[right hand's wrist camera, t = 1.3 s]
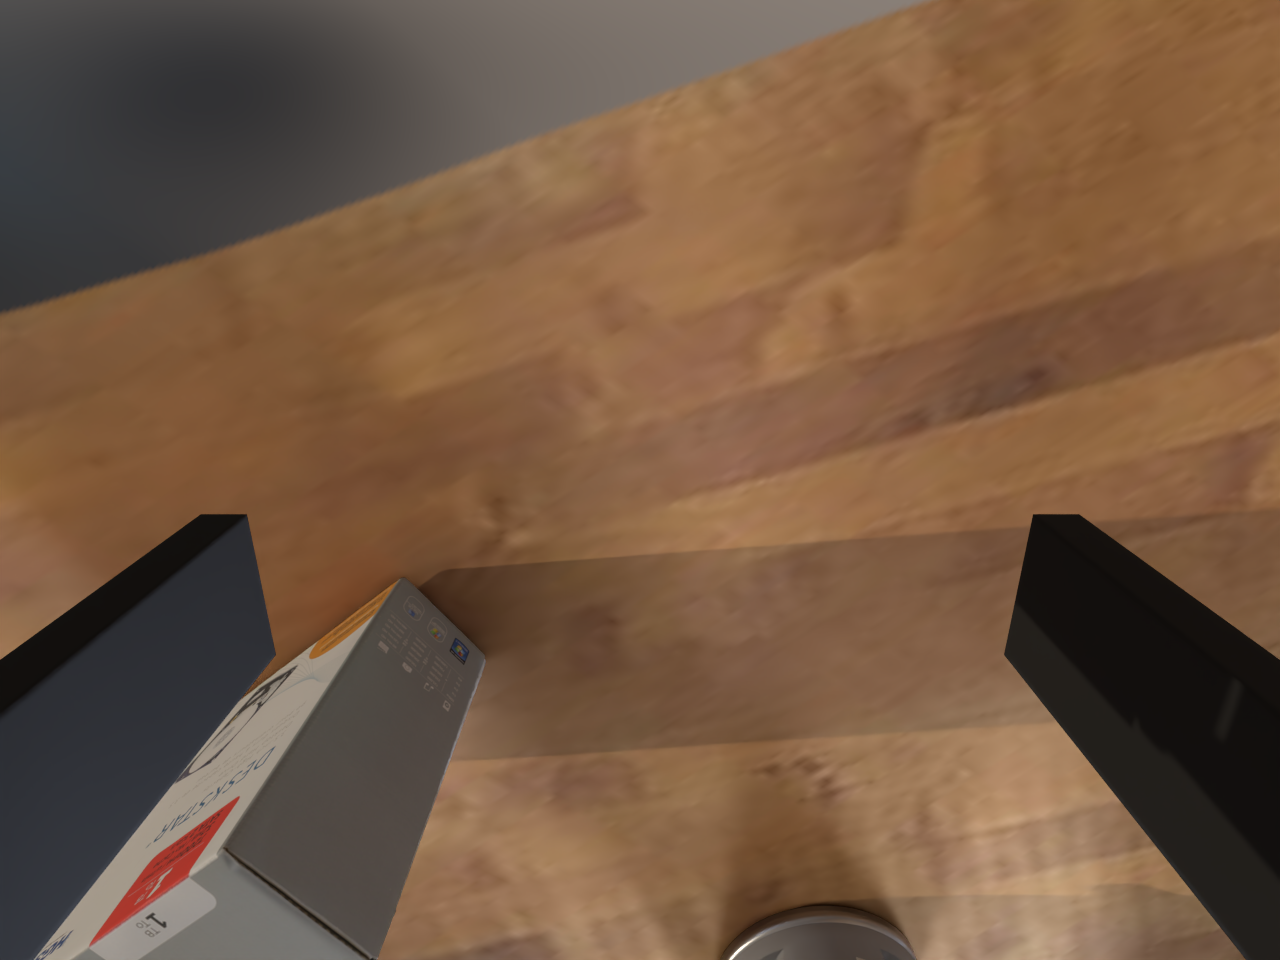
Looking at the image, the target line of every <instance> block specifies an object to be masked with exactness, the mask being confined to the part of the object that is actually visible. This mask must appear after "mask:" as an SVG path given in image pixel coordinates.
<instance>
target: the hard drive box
mask: <svg viewBox="0 0 1280 960" xmlns="http://www.w3.org/2000/svg"><path fill="white" fill-rule="evenodd" d="M485 663H486V660H485V655H484V654H483V653H482V652H481V651H480V650H479V649H478V648H477V647H476V646H475V645H474V644H473V643H472V642H471V641H470V640H469V639H468V638H467V637H466V636H465V635H464V634H463V633H462V632H461V631H460V630H459V629H458V628H457V627H456V626H455V625H454V624H453V623H452V622H451V621H450V620H449V619H448V618H447V617H446V616H445V615H444V614H442V613H441V612H440V611H439V610H438V609H437V608H436V607H435V606H434V605H433V604H432V603H431V602H430V601H429V600H428V599H427V598H426V597H425V596H424V595H423V594H422V593H421V592H420V591H419V590H418V589H417V588H416V587H415V586H414V585H413V584H412V583H411V582H410V581H408V580H407V579H406V578H400V579H399V580H397V581H396V582H395V583H393V584H392V585H391V586H389V587H388V588H387V589H385V590H384V591H383V592H381V593H380V594H379V595H377V596H376V597H375V598H374V599H372V600H371V601H369V602H368V603H366V604H365V605H364V606H363V607H361V608H360V609H359V610H357V611H356V612H355V613H354V614H352V615H351V616H350V617H348V618H347V619H346V620H345V621H343V622H342V623H341V624H340V625H338V626H337V627H336V628H334V629H333V630H331V631H330V632H329V633H328V634H326V635H325V636H324V637H322V638H321V639H320V640H319V641H317V642H316V643H315V644H313V645H312V646H311V647H309V648H308V649H306V650H305V651H304V652H303V653H301V654H300V655H299V656H297V657H296V658H295V659H293V660H292V661H291V662H289V663H288V664H287V665H286V666H284V667H283V668H281V669H279V670H278V671H277V672H276V673H275V674H274V675H272V676H271V677H270V678H268V679H267V680H266V681H264V682H263V683H262V684H260V685H259V686H258V687H257V688H255V689H254V690H253V691H252V692H250V693H249V694H248V695H246V696H245V697H244V698H243V699H241V700H240V701H239V702H238V703H237V704H236V706H235V707H234V708H233V709H232V711H231V712H230V713H229V714H228V716H227V717H226V718H225V719H224V721H223V722H222V723H221V724H220V726H219V727H218V728H217V730H216V731H215V732H214V733H213V735H212V736H211V737H210V738H209V740H208V741H207V742H206V743H205V745H204V746H203V747H202V748H201V750H200V751H199V752H198V753H197V755H196V756H195V757H194V758H193V760H192V761H191V762H190V764H189V765H188V766H187V767H186V769H185V770H184V771H183V772H182V774H181V775H180V776H179V777H178V779H177V780H176V781H175V782H174V784H173V785H172V786H171V787H170V789H169V790H168V791H167V792H166V794H165V795H164V796H163V798H162V799H161V800H160V801H159V803H158V804H157V805H156V806H155V808H154V809H153V810H152V811H151V813H150V814H149V815H148V816H147V818H146V819H145V820H144V821H143V823H142V824H141V825H140V827H139V828H138V829H137V830H136V832H135V833H134V834H133V835H132V837H131V838H130V839H129V840H128V842H127V843H126V844H125V845H124V847H123V848H122V849H121V850H120V852H119V853H118V854H117V855H116V857H115V858H114V859H113V861H112V862H111V863H110V864H109V866H108V867H107V868H106V869H105V871H104V872H103V873H102V874H101V876H100V877H99V878H98V879H97V881H96V882H95V883H94V884H93V886H92V887H91V888H90V890H89V891H88V892H87V893H86V895H85V896H84V897H83V898H82V900H81V901H80V902H79V903H78V905H77V906H76V907H75V908H74V910H73V911H72V912H71V913H70V915H69V916H68V917H67V918H66V920H65V921H64V922H63V924H62V925H61V926H60V927H59V929H58V930H57V931H56V932H55V934H54V935H53V936H52V937H51V939H50V940H49V941H48V942H47V944H46V945H45V946H44V947H43V949H42V950H41V951H40V952H39V954H38V955H37V956H36V958H35V959H34V960H377V958H378V956H379V953H380V950H381V948H382V945H383V942H384V940H385V937H386V935H387V932H388V929H389V927H390V924H391V921H392V918H393V916H394V914H395V912H396V907H397V904H398V901H399V899H400V897H401V893H402V890H403V887H404V885H405V882H406V879H407V876H408V874H409V871H410V868H411V865H412V863H413V860H414V857H415V854H416V852H417V849H418V846H419V843H420V840H421V838H422V835H423V832H424V829H425V827H426V824H427V821H428V819H429V816H430V813H431V811H432V808H433V805H434V802H435V800H436V797H437V794H438V792H439V789H440V786H441V784H442V781H443V778H444V775H445V773H446V770H447V767H448V764H449V762H450V759H451V756H452V753H453V751H454V748H455V745H456V743H457V740H458V737H459V734H460V732H461V729H462V726H463V724H464V721H465V718H466V715H467V713H468V710H469V707H470V705H471V702H472V699H473V696H474V694H475V691H476V688H477V686H478V683H479V680H480V677H481V675H482V672H483V669H484V666H485Z"/></svg>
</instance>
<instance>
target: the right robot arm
mask: <svg viewBox="0 0 1280 960" xmlns="http://www.w3.org/2000/svg"><path fill="white" fill-rule="evenodd" d="M275 655H276V653H275V648H274V643H273V639H272V634H271V629H270V624H269V619H268V614H267V610H266V605H265V600H264V595H263V590H262V585H261V581H260V576H259V571H258V566H257V561H256V556H255V552H254V547H253V542H252V537H251V532H250V527H249V523H248V518H247V514H201V515H199V516H198V517H197V518H195V519H194V520H193V521H191V522H190V523H188V524H187V525H186V526H184V527H183V528H182V529H180V530H179V531H177V532H176V533H175V534H173V535H172V536H170V537H169V538H168V539H166V540H165V541H164V542H162V543H161V544H159V545H158V546H157V547H155V548H154V549H153V550H151V551H150V552H148V553H147V554H146V555H144V556H143V557H142V558H140V559H139V560H137V561H136V562H135V563H133V564H132V565H130V566H129V567H128V568H126V569H125V570H124V571H122V572H121V573H119V574H118V575H117V576H115V577H114V578H113V579H111V580H110V581H108V582H107V583H106V584H104V585H103V586H102V587H100V588H99V589H97V590H96V591H95V592H93V593H92V594H90V595H89V596H88V597H86V598H85V599H84V600H82V601H81V602H79V603H78V604H77V605H75V606H74V607H73V608H71V609H70V610H68V611H67V612H66V613H64V614H63V615H62V616H60V617H59V618H57V619H56V620H55V621H53V622H52V623H51V624H49V625H48V626H46V627H45V628H44V629H42V630H41V631H39V632H38V633H37V634H35V635H34V636H33V637H31V638H30V639H28V640H27V641H26V642H24V643H23V644H22V645H20V646H19V647H17V648H16V649H15V650H13V651H12V652H11V653H9V654H8V655H6V656H5V657H4V658H2V659H1V660H0V960H34V959H35V958H36V956H37V955H38V954H39V952H40V951H41V950H42V949H43V947H44V946H45V945H46V944H47V942H48V941H49V940H50V939H51V937H52V936H53V935H54V934H55V932H56V931H57V930H58V929H59V927H60V926H61V925H62V924H63V922H64V921H65V920H66V918H67V917H68V916H69V915H70V913H71V912H72V911H73V910H74V908H75V907H76V906H77V905H78V903H79V902H80V901H81V900H82V898H83V897H84V896H85V895H86V893H87V892H88V891H89V890H90V888H91V887H92V886H93V884H94V883H95V882H96V881H97V879H98V878H99V877H100V876H101V874H102V873H103V872H104V871H105V869H106V868H107V867H108V866H109V864H110V863H111V862H112V861H113V859H114V858H115V857H116V855H117V854H118V853H119V852H120V850H121V849H122V848H123V847H124V845H125V844H126V843H127V842H128V840H129V839H130V838H131V837H132V835H133V834H134V833H135V832H136V830H137V829H138V828H139V827H140V825H141V824H142V823H143V821H144V820H145V819H146V818H147V816H148V815H149V814H150V813H151V811H152V810H153V809H154V808H155V806H156V805H157V804H158V803H159V801H160V800H161V799H162V798H163V796H164V795H165V794H166V792H167V791H168V790H169V789H170V787H171V786H172V785H173V784H174V782H175V781H176V780H177V779H178V777H179V776H180V775H181V774H182V772H183V771H184V770H185V769H186V767H187V766H188V765H189V764H190V762H191V761H192V760H193V758H194V757H195V756H196V755H197V753H198V752H199V751H200V750H201V748H202V747H203V746H204V745H205V743H206V742H207V741H208V740H209V738H210V737H211V736H212V735H213V733H214V732H215V731H216V730H217V728H218V727H219V726H220V724H221V723H222V722H223V721H224V719H225V718H226V717H227V716H228V714H229V713H230V712H231V711H232V709H233V708H234V707H235V706H236V704H237V703H238V702H239V701H240V699H241V698H242V697H243V695H244V694H245V693H246V692H247V690H248V689H249V688H250V687H251V685H252V684H253V683H254V682H255V680H256V679H257V678H258V677H259V675H260V674H261V673H262V672H263V670H264V669H265V668H266V667H267V665H268V664H269V663H270V661H271V660H272V659H273V658H274V656H275ZM1004 655H1005V656H1006V658H1007V659H1008V660H1009V661H1010V663H1011V664H1012V665H1013V667H1014V668H1015V669H1016V670H1017V672H1018V673H1019V674H1020V675H1021V677H1022V678H1023V679H1024V680H1025V682H1026V683H1027V684H1028V685H1029V687H1030V688H1031V689H1032V690H1033V692H1034V693H1035V694H1036V695H1037V697H1038V698H1039V699H1040V701H1041V702H1042V703H1043V704H1044V706H1045V707H1046V708H1047V709H1048V711H1049V712H1050V713H1051V714H1052V716H1053V717H1054V718H1055V719H1056V721H1057V722H1058V723H1059V724H1060V726H1061V727H1062V728H1063V730H1064V731H1065V732H1066V733H1067V735H1068V736H1069V737H1070V738H1071V740H1072V741H1073V742H1074V743H1075V745H1076V746H1077V747H1078V748H1079V750H1080V751H1081V752H1082V753H1083V755H1084V756H1085V757H1086V758H1087V760H1088V761H1089V762H1090V764H1091V765H1092V766H1093V767H1094V769H1095V770H1096V771H1097V772H1098V774H1099V775H1100V776H1101V777H1102V779H1103V780H1104V781H1105V782H1106V784H1107V785H1108V786H1109V787H1110V789H1111V790H1112V791H1113V792H1114V794H1115V795H1116V796H1117V798H1118V799H1119V800H1120V801H1121V803H1122V804H1123V805H1124V806H1125V808H1126V809H1127V810H1128V811H1129V813H1130V814H1131V815H1132V816H1133V818H1134V819H1135V820H1136V821H1137V823H1138V824H1139V825H1140V827H1141V828H1142V829H1143V830H1144V832H1145V833H1146V834H1147V835H1148V837H1149V838H1150V839H1151V840H1152V842H1153V843H1154V844H1155V845H1156V847H1157V848H1158V849H1159V850H1160V852H1161V853H1162V854H1163V855H1164V857H1165V858H1166V859H1167V861H1168V862H1169V863H1170V864H1171V866H1172V867H1173V868H1174V869H1175V871H1176V872H1177V873H1178V874H1179V876H1180V877H1181V878H1182V879H1183V881H1184V882H1185V883H1186V884H1187V886H1188V887H1189V888H1190V890H1191V891H1192V892H1193V893H1194V895H1195V896H1196V897H1197V898H1198V900H1199V901H1200V902H1201V903H1202V905H1203V906H1204V907H1205V908H1206V910H1207V911H1208V912H1209V913H1210V915H1211V916H1212V917H1213V918H1214V920H1215V921H1216V922H1217V924H1218V925H1219V926H1220V927H1221V929H1222V930H1223V931H1224V932H1225V934H1226V935H1227V936H1228V937H1229V939H1230V940H1231V941H1232V942H1233V944H1234V945H1235V946H1236V947H1237V949H1238V950H1239V951H1240V952H1241V954H1242V955H1243V956H1244V958H1245V959H1246V960H1280V660H1279V659H1278V658H1276V657H1275V656H1274V655H1272V654H1271V653H1269V652H1268V651H1267V650H1265V649H1264V648H1263V647H1261V646H1260V645H1258V644H1257V643H1256V642H1254V641H1253V640H1252V639H1250V638H1249V637H1247V636H1246V635H1245V634H1243V633H1242V632H1241V631H1239V630H1238V629H1236V628H1235V627H1234V626H1232V625H1231V624H1229V623H1228V622H1227V621H1225V620H1224V619H1223V618H1221V617H1220V616H1218V615H1217V614H1216V613H1214V612H1213V611H1212V610H1210V609H1209V608H1207V607H1206V606H1205V605H1203V604H1202V603H1201V602H1199V601H1198V600H1196V599H1195V598H1194V597H1192V596H1191V595H1190V594H1188V593H1187V592H1185V591H1184V590H1183V589H1181V588H1180V587H1178V586H1177V585H1176V584H1174V583H1173V582H1172V581H1170V580H1169V579H1167V578H1166V577H1165V576H1163V575H1162V574H1161V573H1159V572H1158V571H1156V570H1155V569H1154V568H1152V567H1151V566H1150V565H1148V564H1147V563H1145V562H1144V561H1143V560H1141V559H1140V558H1138V557H1137V556H1136V555H1134V554H1133V553H1132V552H1130V551H1129V550H1127V549H1126V548H1125V547H1123V546H1122V545H1121V544H1119V543H1118V542H1116V541H1115V540H1114V539H1112V538H1111V537H1110V536H1108V535H1107V534H1105V533H1104V532H1103V531H1101V530H1100V529H1098V528H1097V527H1096V526H1094V525H1093V524H1092V523H1090V522H1089V521H1087V520H1086V519H1085V518H1083V517H1082V516H1081V515H1079V514H1033V518H1032V523H1031V527H1030V532H1029V537H1028V542H1027V547H1026V552H1025V556H1024V561H1023V566H1022V571H1021V576H1020V581H1019V585H1018V590H1017V595H1016V600H1015V605H1014V610H1013V614H1012V619H1011V624H1010V629H1009V634H1008V639H1007V643H1006V648H1005V653H1004ZM720 960H917V959H916V956H915V953H914V951H913V949H912V947H911V945H910V943H909V942H908V940H907V939H906V938H905V937H904V935H903V934H902V933H901V932H900V931H899V930H898V929H897V928H895V927H894V926H893V925H891V924H890V923H888V922H887V921H885V920H883V919H882V918H879V917H877V916H875V915H873V914H870V913H867V912H865V911H861V910H857V909H853V908H847V907H840V906H810V907H802V908H796V909H792V910H788V911H784V912H781V913H778V914H775V915H772V916H770V917H767V918H765V919H763V920H761V921H759V922H757V923H755V924H754V925H752V926H751V927H749V928H748V929H746V930H745V931H744V932H742V933H741V934H740V935H739V936H738V937H737V938H735V939H734V941H733V942H732V943H731V944H730V945H729V946H728V948H727V949H726V950H725V952H724V954H723V955H722V957H721V959H720Z"/></svg>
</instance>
